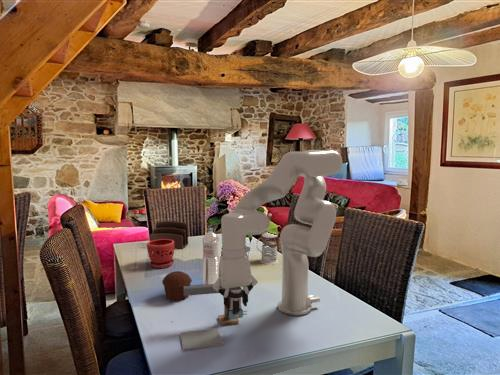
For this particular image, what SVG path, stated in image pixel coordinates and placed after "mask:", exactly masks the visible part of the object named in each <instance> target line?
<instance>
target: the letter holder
mask: <svg viewBox="0 0 500 375" xmlns="http://www.w3.org/2000/svg"><path fill="white" fill-rule="evenodd" d="M188 227H189V226H188V223H186V222H183V221H182V222H181V221H175V220H174V221H173V220H171V221H169V220H168V221H167V220H165V221H164V220H163V221H156V222H155V227H154V228H153V229H152V233H151V234H150V235H149V242H150V241H153V240H159V239H170V240H173V241H174V250H184V249H186V247H187V246H188V245H189V231H188V230H189V228H188ZM160 245H161V244H160Z"/></svg>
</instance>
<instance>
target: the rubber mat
mask: <svg viewBox="0 0 500 375" xmlns="http://www.w3.org/2000/svg"><path fill="white" fill-rule="evenodd" d="M220 334H221V333H220V332H219V330H218V328H217V327H213V328H205V329H198V330H190V331H183V332H182V331H181V332H180V333H179V335H180V336H179V337H180V341H181V345H182V349H183V350H182V351H184V352H185V351H191V350H198V349H199V350H200V349H204V348H205V349H206V348H212V347H220V346H223V345H224V342H223V340H222V336H221V335H220Z"/></svg>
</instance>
